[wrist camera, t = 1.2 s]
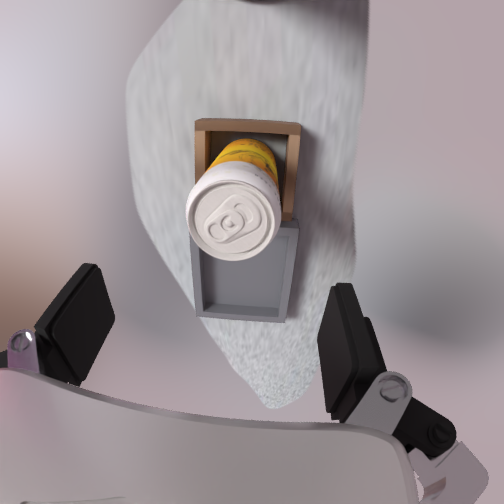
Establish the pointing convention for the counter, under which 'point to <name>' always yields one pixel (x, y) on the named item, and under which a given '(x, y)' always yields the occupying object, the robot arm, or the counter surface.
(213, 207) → the beer can
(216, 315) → the tray
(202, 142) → the collar
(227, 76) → the counter surface
